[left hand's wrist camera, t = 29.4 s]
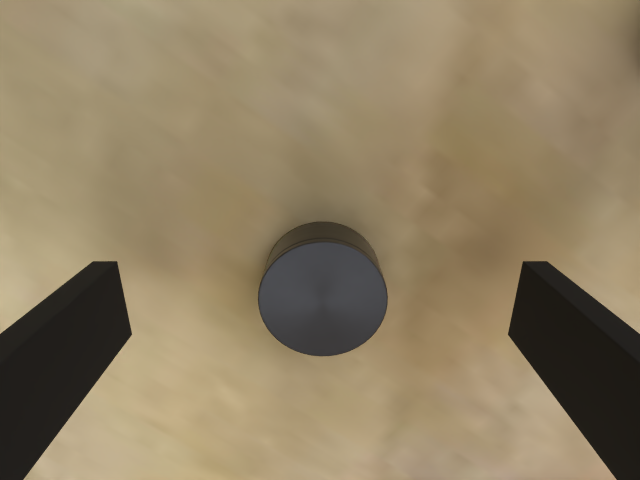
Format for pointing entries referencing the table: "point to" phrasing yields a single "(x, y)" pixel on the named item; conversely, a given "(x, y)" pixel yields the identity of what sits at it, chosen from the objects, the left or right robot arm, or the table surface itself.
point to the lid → (322, 290)
